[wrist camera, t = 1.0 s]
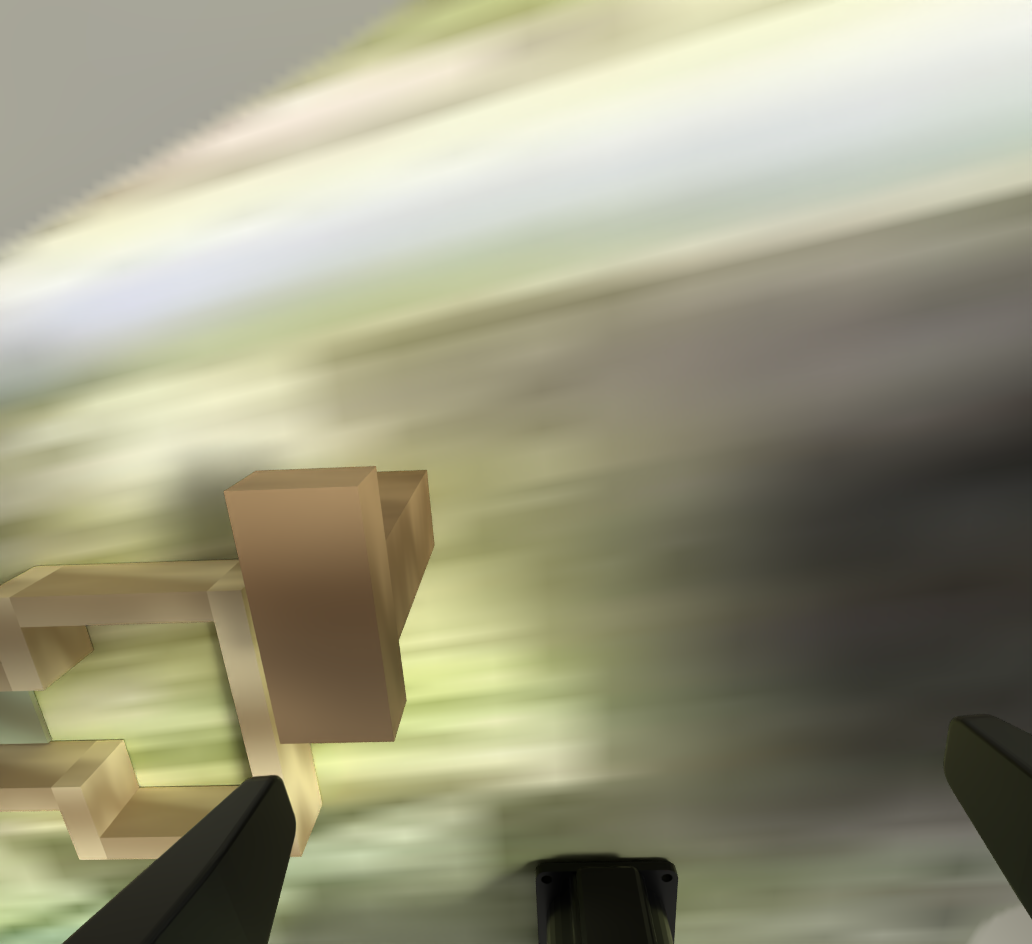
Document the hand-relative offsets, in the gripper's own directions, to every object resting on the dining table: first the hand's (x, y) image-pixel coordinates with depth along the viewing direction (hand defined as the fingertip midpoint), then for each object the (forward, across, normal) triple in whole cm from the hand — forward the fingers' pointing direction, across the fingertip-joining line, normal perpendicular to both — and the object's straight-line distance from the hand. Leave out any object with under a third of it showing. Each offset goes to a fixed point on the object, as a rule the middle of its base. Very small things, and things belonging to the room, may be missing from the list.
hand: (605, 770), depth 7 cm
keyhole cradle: (+13, +21, +8) cm, 26 cm away
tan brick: (+13, +6, +1) cm, 14 cm away
